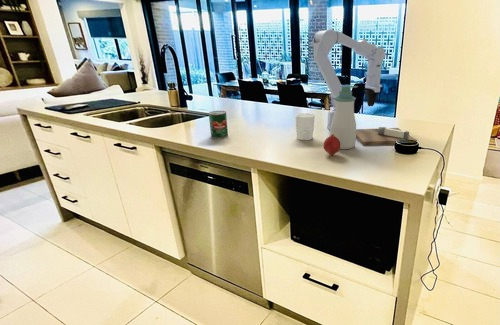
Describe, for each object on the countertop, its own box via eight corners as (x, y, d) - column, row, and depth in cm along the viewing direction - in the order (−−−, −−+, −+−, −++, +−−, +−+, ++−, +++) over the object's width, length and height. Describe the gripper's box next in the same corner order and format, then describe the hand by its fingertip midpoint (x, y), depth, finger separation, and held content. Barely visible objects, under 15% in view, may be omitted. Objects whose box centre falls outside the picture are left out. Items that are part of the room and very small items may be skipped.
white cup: (315, 135, 130) (315, 113, 127) (312, 141, 123) (313, 117, 120) (297, 135, 133) (297, 112, 129) (293, 140, 126) (293, 116, 122)
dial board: (363, 145, 115) (363, 141, 115) (350, 132, 132) (351, 129, 132) (416, 143, 114) (417, 139, 113) (397, 131, 131) (397, 127, 130)
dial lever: (376, 134, 123) (377, 127, 122) (380, 132, 124) (380, 126, 123) (405, 139, 114) (406, 132, 113) (409, 137, 116) (410, 131, 115)
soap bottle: (351, 151, 110) (356, 88, 101) (325, 148, 115) (328, 87, 106) (358, 144, 117) (363, 84, 109) (333, 141, 122) (336, 83, 114)
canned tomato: (220, 132, 142) (218, 109, 138) (231, 135, 137) (229, 111, 133) (207, 136, 137) (205, 113, 133) (218, 139, 132) (215, 115, 128)
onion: (321, 153, 110) (321, 132, 107) (336, 151, 110) (337, 130, 107) (326, 158, 104) (327, 136, 101) (342, 157, 105) (343, 135, 102)
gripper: (388, 76, 126) (385, 108, 131) (377, 73, 140) (374, 102, 145) (371, 77, 127) (368, 109, 132) (361, 74, 140) (359, 103, 145)
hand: (370, 105), depth 138 cm, fingers closed
